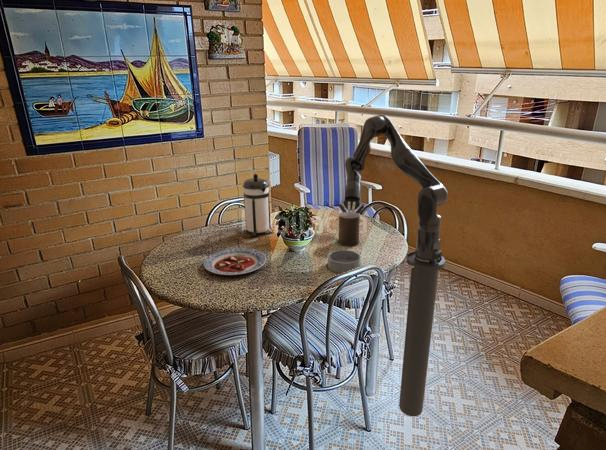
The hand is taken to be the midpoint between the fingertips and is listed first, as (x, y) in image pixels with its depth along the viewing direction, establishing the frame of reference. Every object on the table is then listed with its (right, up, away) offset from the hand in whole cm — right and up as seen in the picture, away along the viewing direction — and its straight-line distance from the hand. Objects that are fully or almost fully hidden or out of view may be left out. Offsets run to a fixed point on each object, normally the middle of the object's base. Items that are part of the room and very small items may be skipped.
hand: (350, 222), depth 200 cm
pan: (-6, -18, -31) cm, 37 cm away
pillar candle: (-2, -9, -7) cm, 12 cm away
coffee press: (-47, -5, +8) cm, 48 cm away
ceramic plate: (-51, -18, -29) cm, 62 cm away
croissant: (-22, -6, +3) cm, 23 cm away
